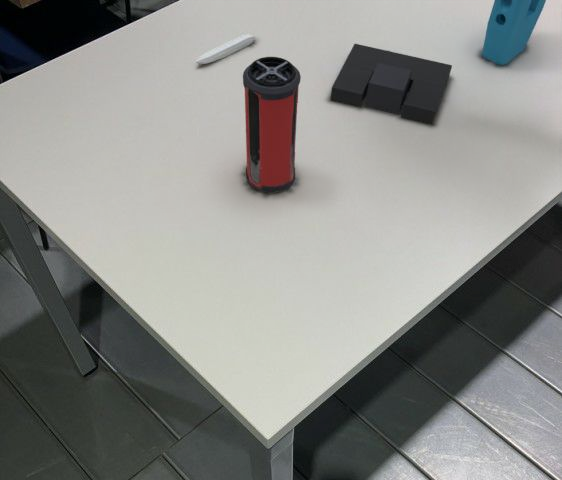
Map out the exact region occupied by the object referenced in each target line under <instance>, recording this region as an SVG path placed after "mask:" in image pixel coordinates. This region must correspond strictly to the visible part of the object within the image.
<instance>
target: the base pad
mask: <svg viewBox="0 0 562 480" xmlns="http://www.w3.org/2000/svg"><path fill="white" fill-rule="evenodd" d="M378 63H380V64H385V65H389V66H394V67H398V68H402V69H407V70H411V71H412V73H411V78H410V82H409V87H408V92H407V95H406V98H405V100H404V103H403V105H402V109H401V110H402V111H401V116H400V117H401V118H402V119H407V120H410V121H415V122H419V123H422V124H427V125H431V126H432V125H433V124H434V120H435V117H436V115H437V112H438V109H439V106H440V104H441V100H442V98H443V95H444V93H445V89H446V86H447V84H448V81H449V78H450V74H451V70H452V68H453V65H452V64H449V63H444V62H440V61H435V60H432V59H431V60H430V59H426V58H422V57H417V56H412V55H408V54H404V53H399V52H396V51H395V52H394V51H390V50H386V49H382V48H378V47H372V46H368V45H363V44H360V43H359V44H358V43H353V46H352V48H351V50H350V51H349V54H348V55H347V58H346V59H345V61H344V63H343V65H342V67H341V69H340V71H339V73H338V75H337V77H336V79H335V80H334V83H333V84H332V86H331V92H330V101H332V102H336V103H339V104H340V103H341V104H344V105H349V106H353V107H357V108H362V105H363V102H364V101H365V99H366V97H367V91H368V84H369V81H370V79H371V77H372V75H373V73H374V70H375V68H376V66H377V64H378Z"/></svg>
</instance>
